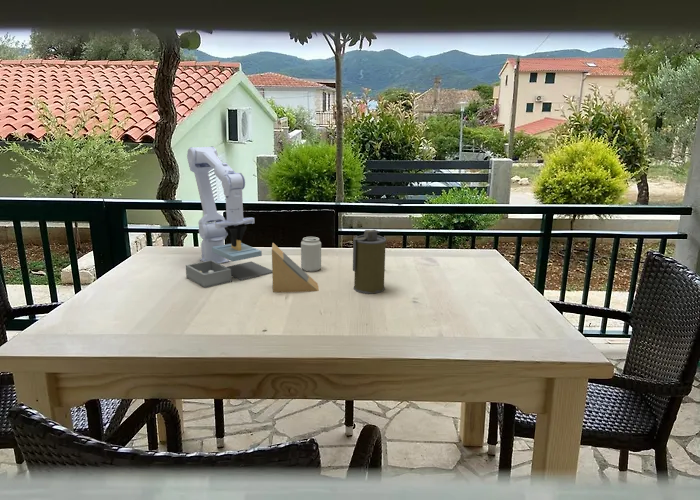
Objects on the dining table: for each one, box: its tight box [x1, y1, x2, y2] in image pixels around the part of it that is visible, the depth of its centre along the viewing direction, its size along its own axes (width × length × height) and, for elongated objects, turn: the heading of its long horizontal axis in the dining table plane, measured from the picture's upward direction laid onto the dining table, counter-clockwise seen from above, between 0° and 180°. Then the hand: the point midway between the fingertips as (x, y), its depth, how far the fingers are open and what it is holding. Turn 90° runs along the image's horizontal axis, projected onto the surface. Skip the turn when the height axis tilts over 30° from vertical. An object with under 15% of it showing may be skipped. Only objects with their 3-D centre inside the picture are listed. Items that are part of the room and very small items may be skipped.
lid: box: [212, 239, 263, 262], centre depth 185 cm, size 15×11×5 cm
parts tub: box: [185, 260, 233, 289], centre depth 180 cm, size 14×10×4 cm
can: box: [300, 236, 322, 273], centre depth 192 cm, size 8×8×12 cm
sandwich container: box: [271, 242, 320, 293], centre depth 172 cm, size 9×15×15 cm, turn 97°
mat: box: [226, 261, 272, 281], centre depth 190 cm, size 16×14×1 cm
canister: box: [352, 229, 387, 295], centre depth 172 cm, size 11×10×20 cm
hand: (236, 245), depth 185 cm, fingers closed on lid
